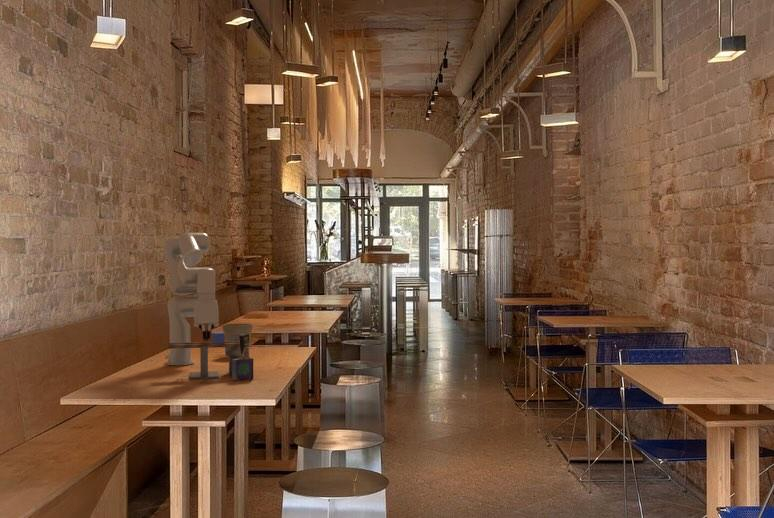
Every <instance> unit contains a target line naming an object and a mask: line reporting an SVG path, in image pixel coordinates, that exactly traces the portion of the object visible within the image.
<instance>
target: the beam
mask: <svg viewBox="0 0 774 518" xmlns="http://www.w3.org/2000/svg"><path fill="white" fill-rule="evenodd" d="M200 346H208V348H211V349H212V348H224V349H225V350H224V351H225V352H224V355H225V357H229V356H240V343H239V341H236V342H225V341H224V343H223V344H212V341H203V342H199V341H198V342H196V341H195V342H191V343H170V342H168V343H167V346H166V348H167V349H169V350H170V349H173V348H191V349H200Z"/></svg>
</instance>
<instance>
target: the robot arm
mask: <svg viewBox="0 0 774 518" xmlns="http://www.w3.org/2000/svg"><path fill="white" fill-rule="evenodd" d="M210 248H211V239H210V237H209V235H208V234H207V233H205V232H184V233H182V234H180V235H177V236H170V237H168V238H166V239H165V241H164V248H163V249H164V253H165V256H166V260H167V262H168V267H169V268H168V269H169V288H170V292H171V293H173V294H176V295H177V294H178V295H182V294H183V295H185V294H193V296H174V297H172V298H170V299H169V300H168V301H167V313H168V319H169V320H168V321H169V343H192V342H191V325H190V323H189V322H188V320H187V318H190V317H193V327H194V328H195V327H196V328H199V329H200V330H201V331H202V340H203V339H204V342H209V339H211V331H212V330H213V329H214V328H215V327H220V322H219V319H220V318H219V317H220V314H219V304H218V300H217V299H216V271H215V269H214V268H211V267H206V266H205V267H202V266H201V267H200V266H199V267H193V266H195V265H197V264H199V263H200V262H201V261H202V260H203V256H204V255H203V254H204V253H206V252H207V251H209V250H210ZM205 325H207V329H206V327H205ZM191 349H192V348H173V349H169V353H168V354H167V355H165V357H164V358H165V359H166V360H167V359H168V360H167V361H166V365H168V366H175V367H178V366H189V365H190V366H191V365H193V364H195V360H193V359H192V358H191V355H192V353H191V352H192V351H191Z"/></svg>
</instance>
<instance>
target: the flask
mask: <svg viewBox="0 0 774 518" xmlns="http://www.w3.org/2000/svg"><path fill="white" fill-rule="evenodd" d="M240 358H241V359H233V360H232V376H231V380H232V382H242V381H252V380H254V358H253V357H250V356H249V357H248V358H247V357H244V356H243V354H242V355H241V357H240Z"/></svg>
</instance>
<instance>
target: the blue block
mask: <svg viewBox="0 0 774 518" xmlns="http://www.w3.org/2000/svg"><path fill="white" fill-rule="evenodd" d="M211 342H212V344H223V343H224V342H225V338H224V332H222V331H221V332H217V331H215V332H211Z"/></svg>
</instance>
